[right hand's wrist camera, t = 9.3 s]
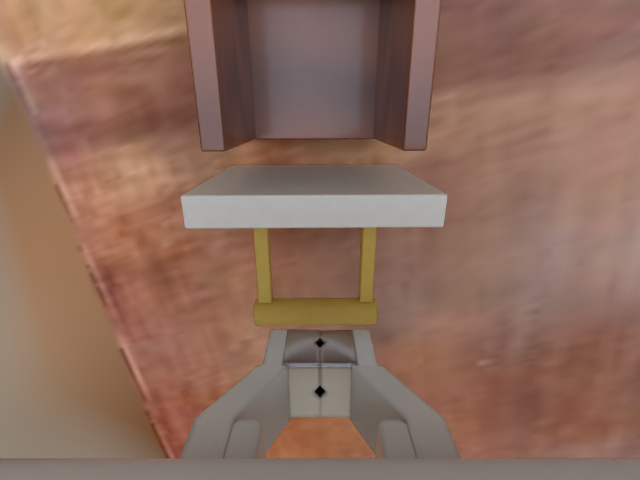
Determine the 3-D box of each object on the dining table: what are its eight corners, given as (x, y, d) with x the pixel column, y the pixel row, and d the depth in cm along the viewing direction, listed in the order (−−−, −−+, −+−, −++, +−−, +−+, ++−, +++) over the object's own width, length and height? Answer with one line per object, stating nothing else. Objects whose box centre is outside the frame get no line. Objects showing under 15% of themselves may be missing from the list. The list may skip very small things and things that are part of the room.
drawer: (389, 274, 21) (427, 356, 14) (241, 275, 21) (203, 358, 14) (428, -239, 13) (557, -644, 6) (195, -241, 13) (55, -655, 6)
